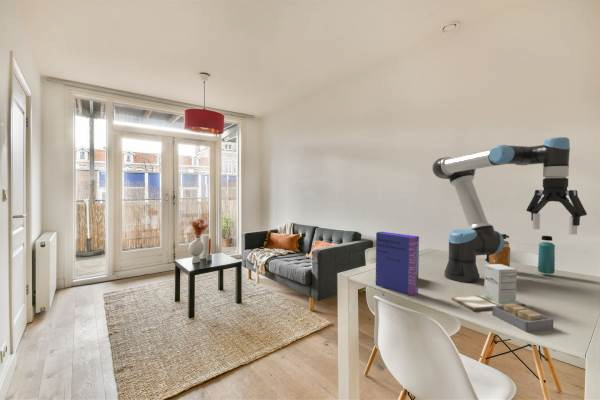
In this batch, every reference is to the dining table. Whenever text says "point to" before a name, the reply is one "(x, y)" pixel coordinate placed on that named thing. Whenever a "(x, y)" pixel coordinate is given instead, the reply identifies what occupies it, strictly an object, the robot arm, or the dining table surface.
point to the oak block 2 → (528, 315)
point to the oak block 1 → (512, 309)
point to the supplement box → (500, 283)
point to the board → (480, 303)
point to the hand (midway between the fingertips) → (553, 231)
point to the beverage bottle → (546, 256)
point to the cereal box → (397, 262)
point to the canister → (501, 254)
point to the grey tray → (524, 325)
